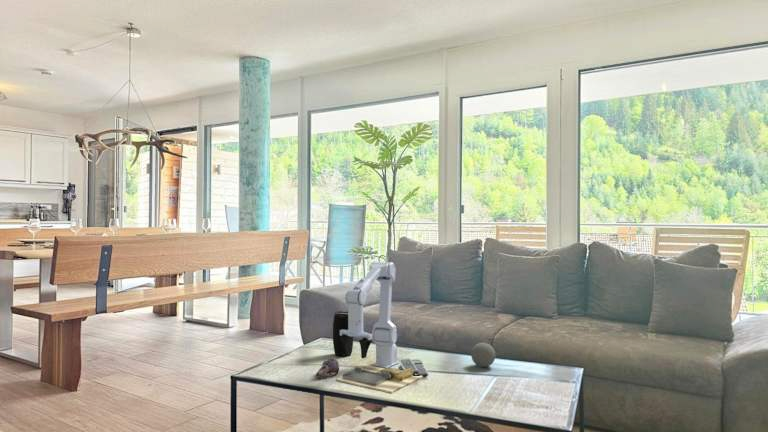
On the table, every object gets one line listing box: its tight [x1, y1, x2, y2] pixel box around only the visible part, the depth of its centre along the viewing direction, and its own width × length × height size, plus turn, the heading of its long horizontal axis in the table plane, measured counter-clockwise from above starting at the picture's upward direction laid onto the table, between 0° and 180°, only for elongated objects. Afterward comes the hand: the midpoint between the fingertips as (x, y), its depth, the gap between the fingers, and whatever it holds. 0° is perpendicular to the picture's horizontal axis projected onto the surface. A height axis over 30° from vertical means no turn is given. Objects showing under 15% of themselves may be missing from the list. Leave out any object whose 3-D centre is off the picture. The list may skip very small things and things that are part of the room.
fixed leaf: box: [341, 366, 392, 386], centre depth 201 cm, size 10×17×2 cm, turn 56°
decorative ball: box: [470, 342, 496, 368], centre depth 219 cm, size 10×10×10 cm
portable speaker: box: [332, 310, 354, 358], centre depth 239 cm, size 9×9×20 cm
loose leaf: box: [377, 366, 414, 381], centre depth 205 cm, size 8×12×3 cm
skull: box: [314, 357, 340, 380], centre depth 207 cm, size 12×8×6 cm, turn 143°
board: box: [335, 365, 424, 394], centre depth 203 cm, size 22×26×1 cm
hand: (356, 356), depth 199 cm, fingers open, 7 cm apart
